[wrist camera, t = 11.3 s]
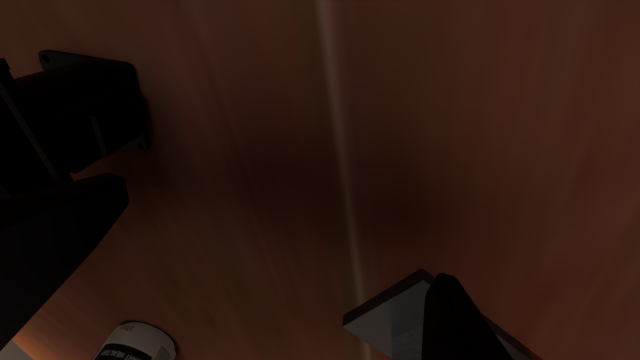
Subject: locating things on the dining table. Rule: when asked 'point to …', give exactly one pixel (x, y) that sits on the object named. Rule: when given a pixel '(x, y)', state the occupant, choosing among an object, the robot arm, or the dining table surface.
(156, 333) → the supplement can
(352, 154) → the dining table surface
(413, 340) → the lock block
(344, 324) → the block
